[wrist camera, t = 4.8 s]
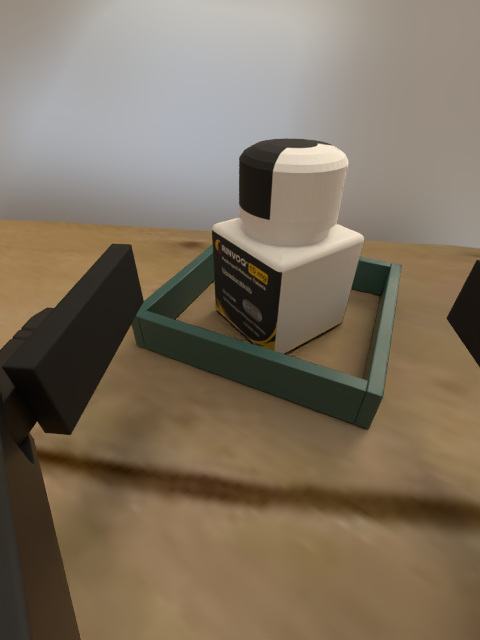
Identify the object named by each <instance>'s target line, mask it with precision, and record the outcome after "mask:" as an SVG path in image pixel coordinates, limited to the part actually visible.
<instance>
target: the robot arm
mask: <svg viewBox="0 0 480 640" xmlns="http://www.w3.org/2000/svg"><path fill="white" fill-rule="evenodd" d="M143 302H144V301H143V296H142V292H141V287H140V283H139V278H138V273H137V269H136V264H135V260H134V255H133V251H132V246H131V245H129V244H112V245H111V246H110V247H109V248H108V249H107V250H106V251H105V252H104V254H103V255H102V256H101V257H100V258H99V259H98V260H97V261H96V262H95V264H94V265H93V266H92V267H91V268H90V269H89V270H88V271H87V272H86V274H85V275H84V276H83V277H82V278H81V279H80V280H79V281H78V282H77V283H76V285H75V286H74V287H73V288H72V289H71V290H70V291H69V292H68V293H67V295H66V296H65V297H64V298H63V299H62V300H61V301H60V302H59V303H58V305H57V306H56V307H55V308H46V309H44V310H42V311H41V312H39V313H37V314H36V315H34V316H33V317H31V318H30V319H29V320H28V321H27V323H26V324H25V325H24V326H23V327H22V329H21V330H19V331H18V332H17V333H16V334H15V335H14V336H13V339H10V340H9V341H8V342H7V343H6V344H5V346H4V347H3V348H2V349H1V350H0V640H81V639H80V634H79V630H78V626H77V622H76V617H75V613H74V609H73V605H72V600H71V596H70V592H69V587H68V583H67V579H66V575H65V570H64V566H63V562H62V558H61V553H60V549H59V545H58V540H57V536H56V532H55V528H54V523H53V519H52V515H51V511H50V506H49V502H48V498H47V493H46V489H45V485H44V481H43V476H42V472H41V468H40V464H39V459H38V455H37V451H36V446H35V442H34V439H33V437H32V435H31V434H30V431H31V429H32V428H33V426H34V425H35V423H36V422H37V421H38V423H39V424H40V426H41V427H42V429H43V430H44V432H45V433H54V434H66V435H71V433H72V431H73V430H74V428H75V426H76V424H77V422H78V421H79V419H80V417H81V415H82V413H83V411H84V410H85V408H86V406H87V404H88V402H89V400H90V399H91V397H92V395H93V393H94V391H95V390H96V388H97V386H98V384H99V382H100V380H101V379H102V377H103V375H104V373H105V371H106V369H107V368H108V366H109V364H110V362H111V360H112V359H113V357H114V355H115V353H116V351H117V349H118V348H119V346H120V344H121V342H122V340H123V338H124V337H125V335H126V333H127V331H128V329H129V328H130V326H131V324H132V322H133V320H134V318H135V317H136V315H137V313H138V311H139V309H140V307H141V306H142V304H143ZM447 320H448V321H449V323H450V324H451V326H452V327H453V329H454V330H455V332H456V333H457V334H458V336H459V337H460V339H461V340H462V342H463V343H464V345H465V346H466V348H467V349H468V351H469V352H470V354H471V355H472V357H473V358H474V359H475V361H476V362H477V364H478V365H479V367H480V260H477V261H476V263H475V265H474V267H473V269H472V270H471V272H470V274H469V276H468V278H467V280H466V282H465V284H464V286H463V288H462V290H461V292H460V293H459V295H458V297H457V299H456V301H455V303H454V305H453V307H452V309H451V311H450V313H449V315H448V316H447Z"/></svg>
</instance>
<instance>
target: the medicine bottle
mask: <svg viewBox="0 0 480 640" xmlns="http://www.w3.org/2000/svg"><path fill="white" fill-rule="evenodd" d="M239 161H240V162H239V163H240V164H239V167H240V168H239V217H240V218H236V219H232V220H228V221H224V222H220V223H217V224H215V225H214V226H213V227H212V240H213V259H214V279H215V298H216V308H217V310H218V311H219V312H220V313H221V314H222V315H223V316H224V317H225V318H227V319H228V320H229V321H230V322H231V323H232V324H233V325H234V326H235V327H236V328H237V329H239V330H240V331H241V332H242V333H243V334H244V335H245V336H246V337H247V338H248V339H249V340H250V341H252V342H253V343H254V344H255V345H257V346H260V347H263V348H266V349H269V350H273V351H276V352H279V353H282V354H284V353H286V352H288V351H290V350H292V349H294V348H296V347H297V346H299V345H301V344H303V343H305V342H307V341H309V340H310V339H312V338H314V337H316V336H318V335H320V334H321V333H323V332H325V331H327V330H329V329H331V328H333V327H334V326H336V325H338V324H340V323H341V322H342V321H343V318H344V314H345V310H346V306H347V303H348V299H349V295H350V291H351V287H352V284H353V280H354V276H355V272H356V268H357V265H358V261H359V257H360V253H361V250H362V246H363V242H364V237H363V236H362V235H361V234H359V233H357V232H355V231H352V230H350V229H347V228H345V227H343V226H340V225H338V224H336V223H337V218H338V213H339V208H340V203H341V198H342V193H343V188H344V183H345V178H346V173H347V168H348V163H349V162H348V159H347V157H346V155H345V154H344V153H343V152H342V151H340V150H339V149H337V148H336V147H334V146H333V145H331V144H328V143H325V142H320V141H315V140H306V139H273V140H265V141H261V142H259V143H256V144H254V145H252V146H251V147H249V148H247V149H245V150H244V152H243V153H242V155H241V156H240V158H239Z"/></svg>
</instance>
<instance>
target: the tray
mask: <svg viewBox="0 0 480 640" xmlns="http://www.w3.org/2000/svg"><path fill="white" fill-rule="evenodd" d="M401 266H402V265H401V264H396V263H390V262H385V261H380V260H375V259H370V258H365V257H359V261H358V265H357V268H356V272H355V276H354V280H353V284H352V287H351V289H355V290H360V291H364V292H368V293H373V294H377V295H381V298H380V302H379V307H378V312H377V316H376V321H375V326H374V330H373V335H372V340H371V345H370V349H369V354H368V359H367V363H366V368H365V373H364V378H363V379H361V378H358V377H355V376H352V375H348V374H345V373H342V372H339V371H336V370H333V369H329V368H326V367H323V366H320V365H317V364H314V363H311V362H307V361H304V360H301V359H298V358H295V357H292V356H288V355H285V354H282V353H279V352H276V351H273V350H269V349H266V348H263V347H260V346H257V345H254V344H250V343H247V342H244V341H241V340H238V339H235V338H231V337H228V336H225V335H222V334H219V333H216V332H212V331H209V330H206V329H203V328H200V327H197V326H193V325H190V324H187V323H184V322H181V321H178V320H175V319H176V318H177V317H178V316H179V315H180V314H181V313H182V312H183V311H184V310H185V309H186V308H187V307H188V306H189V305H190V304H191V303H192V302H193V301H194V300H195V299H196V298H197V297H198V296H199V295H200V294H201V293H202V292H203V291H204V290H205V289H206V288H207V287H208V286H209V285H210V284H211V283H212V282H213V281H214V280H215V279H214V259H213V245H211V246H210V247H209V248H208V249H207V250H205V251H204V252H203V253H202V254H200V255H199V256H198V257H197V258H196V259H194V260H193V261H192V262H191V263H190V264H188V265H187V266H186V267H185V268H184V269H182V270H181V271H180V272H179V273H177V274H176V275H175V276H174V277H173V278H171V279H170V280H169V281H168V282H167V283H165V284H164V285H163V286H162V287H161V288H159V289H158V290H157V291H156V292H154V293H153V294H152V295H151V296H150V297H148V298H147V299H146V300H145V301H144V302H143V304H142V306H141V307H140V309H139V311H138V313H137V315H136V317H135V318H134V320H133V322H132V328H133V332H134V336H135V339H136V343H137V345H138V346H141V347H144V348H146V349H149V350H151V351H154V352H157V353H160V354H162V355H165V356H168V357H171V358H173V359H176V360H179V361H182V362H184V363H187V364H190V365H193V366H195V367H198V368H201V369H204V370H206V371H209V372H212V373H215V374H217V375H220V376H223V377H226V378H228V379H231V380H234V381H237V382H239V383H242V384H245V385H248V386H250V387H253V388H256V389H259V390H261V391H264V392H267V393H270V394H272V395H275V396H278V397H281V398H283V399H286V400H289V401H292V402H294V403H297V404H300V405H303V406H305V407H308V408H311V409H314V410H316V411H319V412H322V413H325V414H327V415H330V416H333V417H336V418H338V419H341V420H344V421H347V422H349V423H352V424H353V423H354V424H355V425H358V426H361V427H364V428H366V429H369V427H370V425H371V423H372V420H373V418H374V416H375V414H376V412H377V409H378V407H379V405H380V403H381V400H382V398H383V394H384V387H385V379H386V372H387V365H388V358H389V351H390V344H391V337H392V330H393V323H394V316H395V309H396V302H397V294H398V287H399V280H400V273H401Z"/></svg>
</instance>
